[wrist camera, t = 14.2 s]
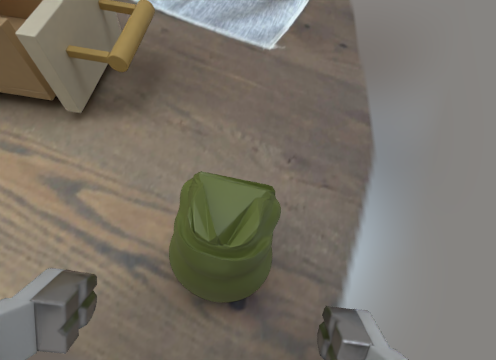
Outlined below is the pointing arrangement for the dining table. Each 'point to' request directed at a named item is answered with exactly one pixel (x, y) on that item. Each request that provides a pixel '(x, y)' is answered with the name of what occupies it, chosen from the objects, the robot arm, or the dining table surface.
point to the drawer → (66, 46)
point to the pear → (223, 236)
